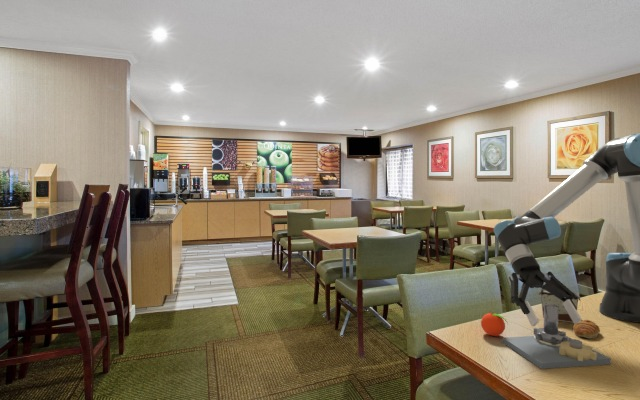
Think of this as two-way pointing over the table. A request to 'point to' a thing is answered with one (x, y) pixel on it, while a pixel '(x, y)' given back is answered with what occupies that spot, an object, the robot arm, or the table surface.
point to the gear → (550, 327)
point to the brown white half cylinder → (551, 299)
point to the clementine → (493, 324)
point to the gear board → (556, 352)
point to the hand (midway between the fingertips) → (557, 323)
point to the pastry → (586, 329)
